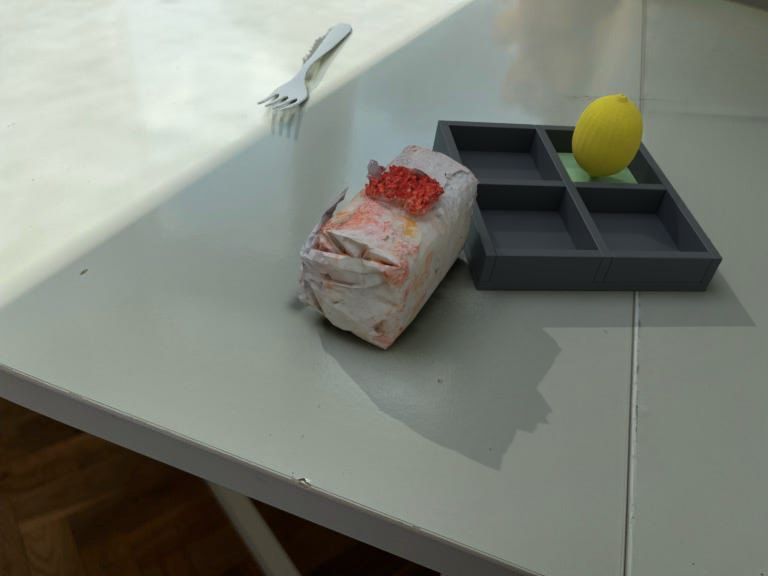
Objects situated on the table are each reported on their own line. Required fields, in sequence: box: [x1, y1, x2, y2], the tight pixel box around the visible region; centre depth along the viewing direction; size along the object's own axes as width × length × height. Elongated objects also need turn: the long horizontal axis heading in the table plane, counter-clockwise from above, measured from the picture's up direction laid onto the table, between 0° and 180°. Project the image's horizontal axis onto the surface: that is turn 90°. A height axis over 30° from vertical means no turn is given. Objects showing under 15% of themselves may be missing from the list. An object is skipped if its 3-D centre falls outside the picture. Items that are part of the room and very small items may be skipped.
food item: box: [297, 144, 479, 350], centre depth 53 cm, size 14×8×10 cm, turn 153°
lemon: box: [572, 93, 644, 178], centre depth 66 cm, size 6×6×8 cm
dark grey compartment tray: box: [431, 119, 723, 292], centre depth 64 cm, size 18×18×3 cm
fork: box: [256, 22, 352, 112], centre depth 79 cm, size 3×24×2 cm, turn 165°
